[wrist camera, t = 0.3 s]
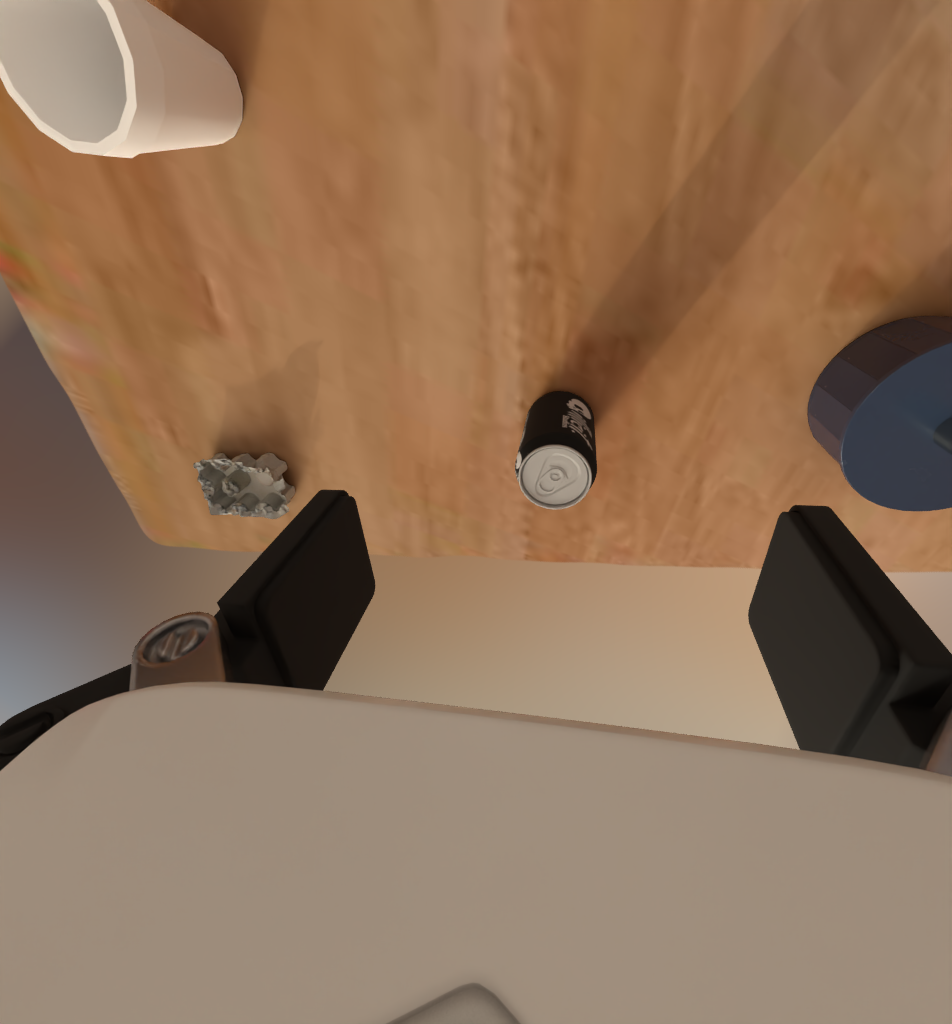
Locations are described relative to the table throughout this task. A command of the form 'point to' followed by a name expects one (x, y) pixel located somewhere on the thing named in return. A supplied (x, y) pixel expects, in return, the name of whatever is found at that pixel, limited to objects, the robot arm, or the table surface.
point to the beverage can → (557, 451)
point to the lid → (904, 435)
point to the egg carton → (245, 485)
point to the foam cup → (116, 77)
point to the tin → (867, 371)
